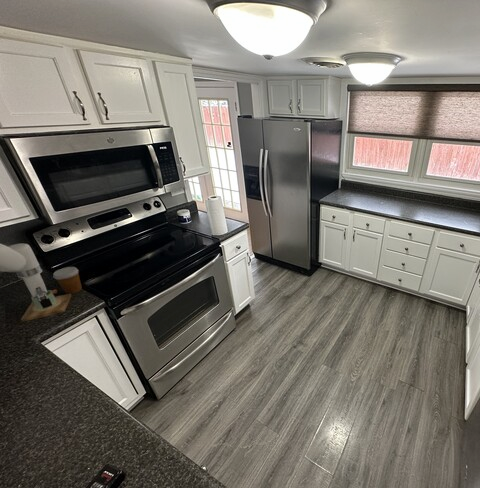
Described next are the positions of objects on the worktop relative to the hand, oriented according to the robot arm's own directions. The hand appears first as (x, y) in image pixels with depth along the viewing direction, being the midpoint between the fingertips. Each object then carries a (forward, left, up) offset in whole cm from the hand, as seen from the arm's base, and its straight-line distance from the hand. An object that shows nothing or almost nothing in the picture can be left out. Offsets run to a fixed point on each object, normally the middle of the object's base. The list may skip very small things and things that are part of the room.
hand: (46, 302), depth 123 cm
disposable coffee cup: (+7, +12, -3) cm, 14 cm away
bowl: (0, 0, -1) cm, 1 cm away
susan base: (0, 0, -3) cm, 3 cm away
